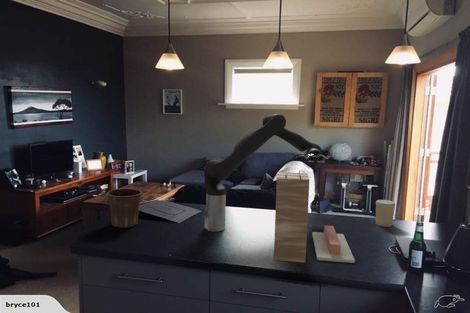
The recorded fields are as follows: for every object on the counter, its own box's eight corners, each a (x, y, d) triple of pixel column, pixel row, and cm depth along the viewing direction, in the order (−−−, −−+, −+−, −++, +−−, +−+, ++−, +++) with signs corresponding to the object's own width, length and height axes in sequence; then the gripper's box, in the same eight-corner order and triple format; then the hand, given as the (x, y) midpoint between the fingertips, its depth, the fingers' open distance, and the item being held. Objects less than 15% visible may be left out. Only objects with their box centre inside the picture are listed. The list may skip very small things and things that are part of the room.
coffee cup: (395, 223, 191) (396, 201, 189) (391, 228, 183) (393, 205, 181) (376, 220, 195) (377, 198, 194) (372, 225, 188) (374, 202, 186)
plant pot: (146, 226, 177) (146, 193, 175) (113, 231, 168) (112, 197, 166) (135, 217, 191) (135, 187, 189) (103, 222, 182) (102, 190, 180)
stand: (305, 262, 139) (309, 176, 135) (273, 260, 141) (276, 175, 136) (303, 248, 153) (307, 170, 149) (274, 246, 154) (277, 169, 150)
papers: (157, 203, 216) (157, 197, 216) (201, 215, 205) (202, 209, 205) (130, 213, 194) (131, 206, 194) (178, 228, 183) (179, 221, 183)
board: (354, 263, 140) (354, 260, 140) (317, 260, 142) (317, 257, 142) (343, 236, 169) (343, 234, 169) (312, 234, 171) (312, 231, 171)
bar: (340, 254, 145) (340, 244, 144) (329, 253, 145) (330, 244, 145) (332, 234, 168) (333, 225, 168) (323, 233, 169) (324, 225, 168)
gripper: (301, 148, 190) (302, 152, 174) (329, 149, 188) (332, 153, 172) (300, 162, 191) (301, 167, 175) (328, 164, 189) (332, 168, 173)
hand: (317, 160), depth 174 cm, fingers open, 8 cm apart
